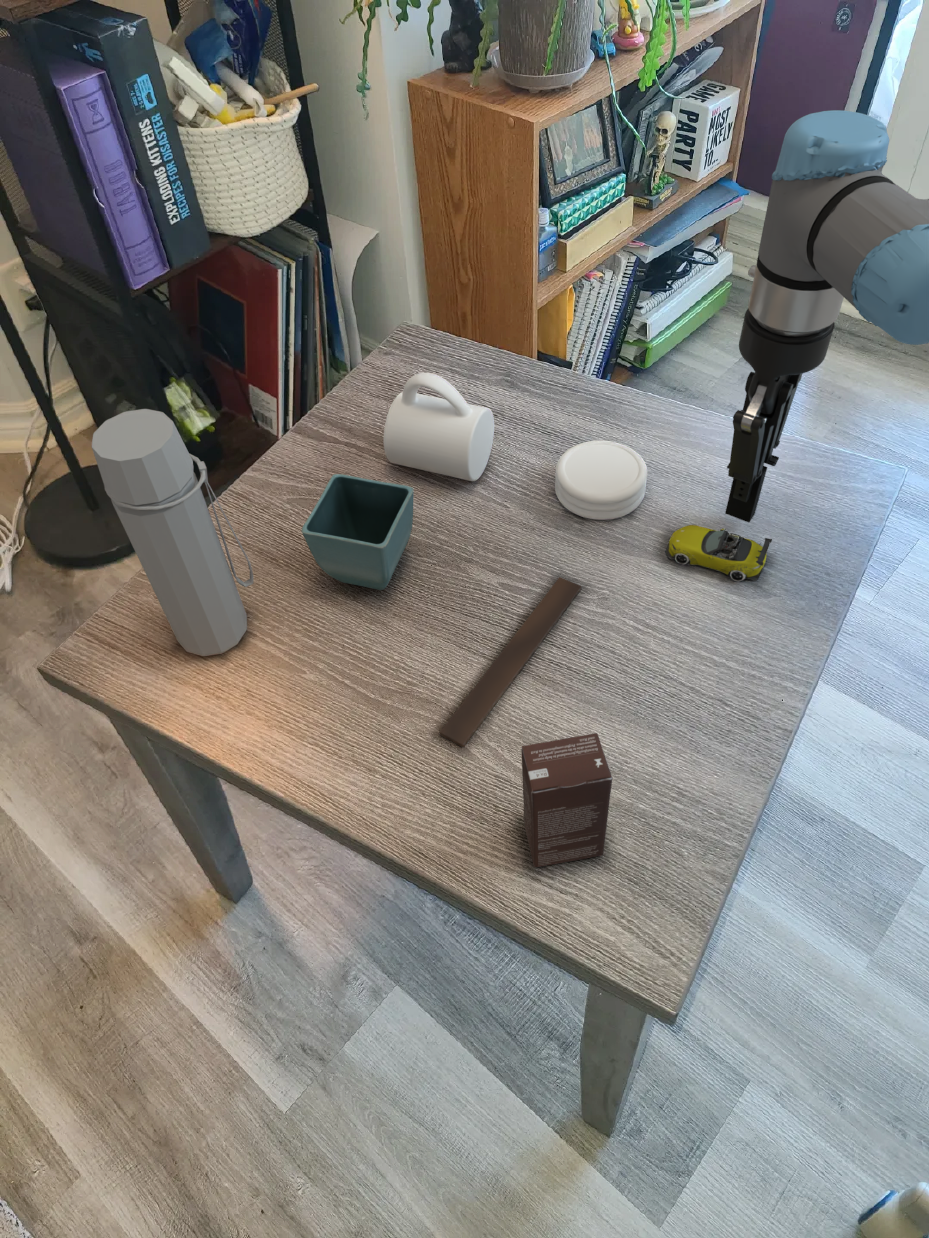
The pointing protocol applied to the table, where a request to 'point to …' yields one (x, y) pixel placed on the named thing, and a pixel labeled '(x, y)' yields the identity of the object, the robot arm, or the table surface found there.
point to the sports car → (718, 551)
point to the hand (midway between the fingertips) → (739, 513)
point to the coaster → (600, 479)
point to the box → (565, 799)
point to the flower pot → (360, 529)
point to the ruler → (509, 663)
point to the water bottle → (172, 528)
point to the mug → (438, 430)
